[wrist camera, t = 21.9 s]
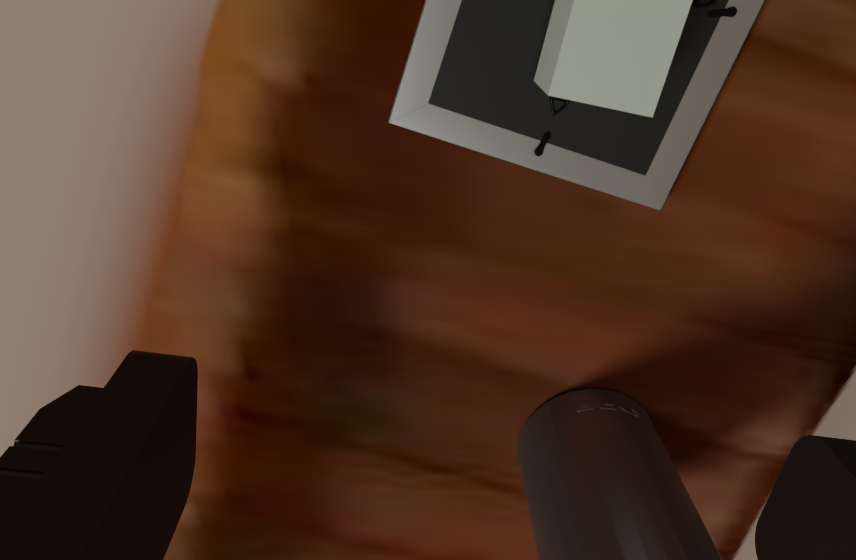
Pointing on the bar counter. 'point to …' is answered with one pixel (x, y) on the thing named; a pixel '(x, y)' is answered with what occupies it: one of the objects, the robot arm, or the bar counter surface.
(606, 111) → the picture frame
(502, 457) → the bar counter surface
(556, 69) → the blank block
